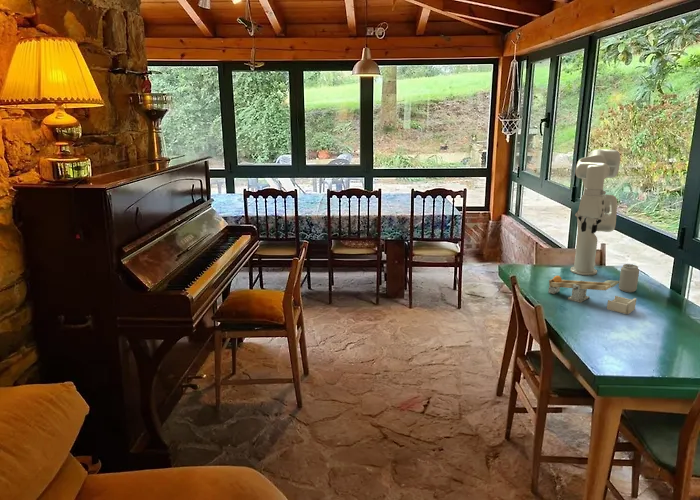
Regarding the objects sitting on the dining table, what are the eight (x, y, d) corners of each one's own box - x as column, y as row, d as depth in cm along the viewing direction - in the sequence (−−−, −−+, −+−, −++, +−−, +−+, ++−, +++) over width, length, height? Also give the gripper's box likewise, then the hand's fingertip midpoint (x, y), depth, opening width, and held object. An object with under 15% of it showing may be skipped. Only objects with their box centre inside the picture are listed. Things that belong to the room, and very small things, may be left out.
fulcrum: (545, 294, 240) (546, 279, 239) (556, 288, 248) (557, 274, 246) (580, 303, 229) (581, 287, 227) (590, 297, 236) (592, 282, 234)
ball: (555, 281, 243) (555, 274, 243) (563, 282, 241) (562, 275, 240) (551, 283, 241) (551, 276, 240) (559, 284, 238) (559, 276, 238)
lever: (549, 286, 241) (549, 280, 241) (563, 279, 250) (562, 273, 250) (606, 290, 222) (606, 283, 222) (619, 283, 231) (618, 276, 231)
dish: (614, 304, 228) (615, 293, 227) (634, 309, 222) (636, 298, 221) (606, 309, 223) (608, 298, 221) (627, 314, 217) (629, 303, 215)
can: (632, 287, 248) (635, 263, 245) (639, 293, 241) (642, 268, 238) (615, 287, 249) (619, 263, 246) (622, 292, 242) (625, 267, 239)
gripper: (615, 193, 233) (610, 233, 238) (578, 189, 244) (574, 227, 249) (609, 195, 228) (603, 236, 233) (571, 191, 240) (567, 230, 244)
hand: (588, 231), depth 241 cm, fingers open, 3 cm apart
